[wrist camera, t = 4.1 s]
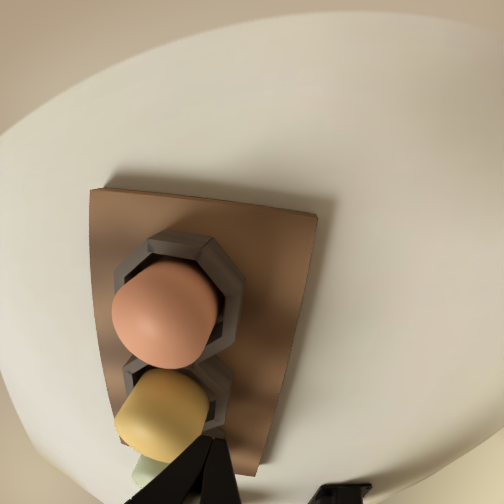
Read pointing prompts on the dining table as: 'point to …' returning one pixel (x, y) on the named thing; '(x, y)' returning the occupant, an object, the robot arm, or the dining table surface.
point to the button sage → (147, 470)
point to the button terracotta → (167, 312)
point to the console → (233, 308)
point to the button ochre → (163, 414)
